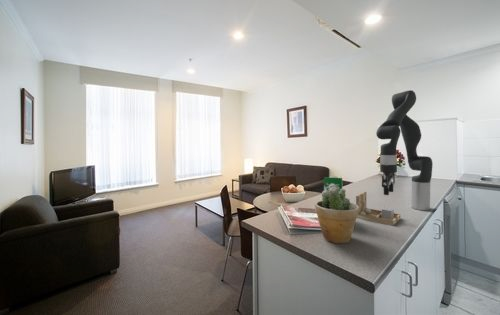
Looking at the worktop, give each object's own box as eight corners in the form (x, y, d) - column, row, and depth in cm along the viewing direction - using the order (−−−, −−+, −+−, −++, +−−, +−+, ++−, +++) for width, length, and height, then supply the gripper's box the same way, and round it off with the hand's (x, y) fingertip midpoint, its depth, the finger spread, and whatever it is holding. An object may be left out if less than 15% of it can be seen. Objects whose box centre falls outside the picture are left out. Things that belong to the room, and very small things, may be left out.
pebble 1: (360, 215, 124) (360, 210, 124) (366, 217, 121) (366, 211, 121) (358, 217, 122) (358, 211, 121) (364, 218, 119) (364, 213, 119)
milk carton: (342, 218, 122) (342, 175, 121) (342, 224, 114) (341, 177, 112) (325, 216, 126) (325, 174, 124) (324, 222, 118) (323, 177, 116)
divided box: (365, 212, 131) (365, 191, 130) (400, 219, 118) (400, 196, 117) (356, 218, 121) (356, 196, 121) (393, 226, 108) (393, 201, 107)
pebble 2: (366, 212, 129) (366, 207, 129) (372, 213, 127) (372, 208, 127) (364, 213, 127) (364, 208, 127) (370, 214, 125) (370, 209, 125)
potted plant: (310, 230, 107) (310, 181, 106) (348, 229, 107) (348, 180, 105) (322, 247, 89) (321, 188, 87) (367, 247, 88) (367, 187, 87)
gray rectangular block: (384, 218, 119) (384, 207, 119) (393, 219, 116) (393, 209, 116) (381, 220, 116) (381, 209, 116) (391, 222, 113) (391, 211, 112)
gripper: (384, 162, 122) (384, 190, 123) (376, 164, 112) (376, 194, 113) (400, 162, 116) (400, 191, 117) (392, 165, 106) (393, 197, 107)
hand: (388, 193), depth 115 cm, fingers open, 8 cm apart
